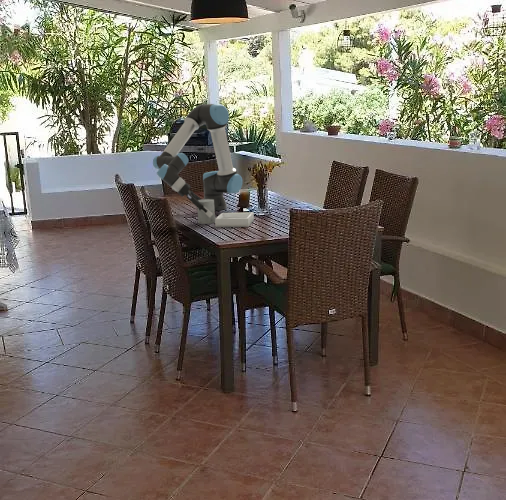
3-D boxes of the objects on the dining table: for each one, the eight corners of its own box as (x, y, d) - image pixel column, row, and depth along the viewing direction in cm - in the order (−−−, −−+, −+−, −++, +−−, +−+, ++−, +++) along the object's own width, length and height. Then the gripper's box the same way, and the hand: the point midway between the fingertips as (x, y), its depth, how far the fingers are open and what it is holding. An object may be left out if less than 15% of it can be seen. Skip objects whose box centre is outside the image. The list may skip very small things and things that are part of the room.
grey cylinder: (200, 224, 388) (198, 202, 385) (196, 221, 397) (195, 199, 394) (217, 222, 390) (215, 200, 388) (213, 220, 399) (212, 198, 397)
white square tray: (222, 220, 396) (221, 212, 395) (253, 220, 393) (253, 212, 392) (215, 227, 378) (215, 218, 377) (248, 226, 375) (248, 218, 374)
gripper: (178, 189, 400) (208, 215, 404) (175, 195, 379) (206, 222, 382) (187, 179, 399) (217, 205, 403) (184, 184, 378) (215, 212, 381)
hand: (211, 214), depth 393 cm, fingers closed on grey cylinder, 9 cm apart
